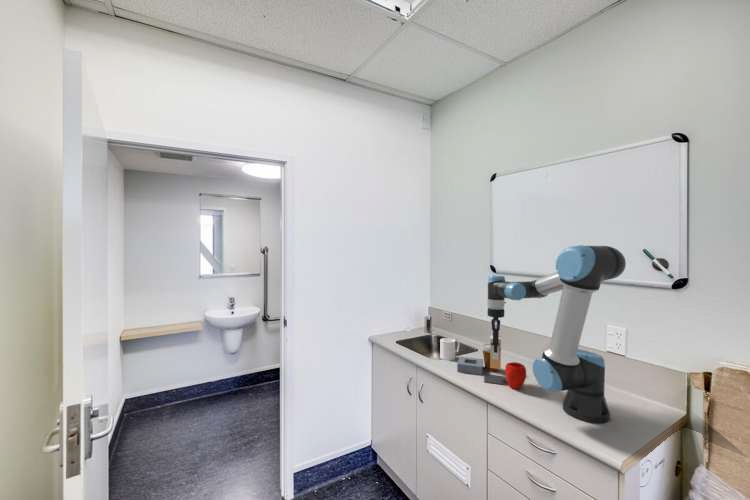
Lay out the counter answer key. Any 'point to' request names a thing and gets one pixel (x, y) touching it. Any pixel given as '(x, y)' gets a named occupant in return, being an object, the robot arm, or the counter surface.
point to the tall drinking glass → (495, 362)
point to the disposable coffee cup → (487, 358)
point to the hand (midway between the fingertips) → (495, 356)
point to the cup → (448, 348)
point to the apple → (515, 374)
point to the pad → (495, 379)
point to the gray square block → (470, 365)
